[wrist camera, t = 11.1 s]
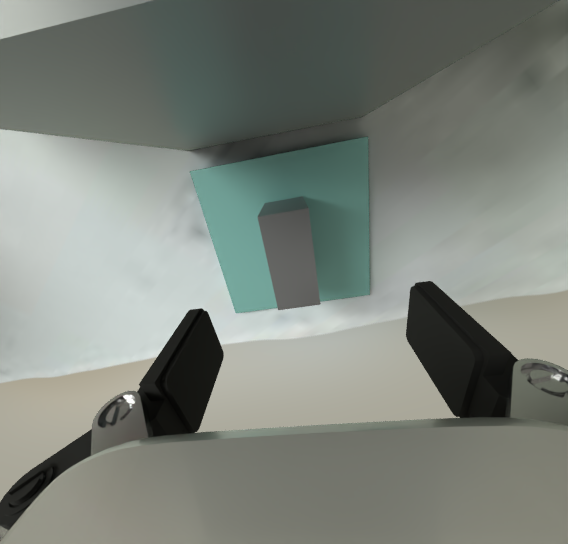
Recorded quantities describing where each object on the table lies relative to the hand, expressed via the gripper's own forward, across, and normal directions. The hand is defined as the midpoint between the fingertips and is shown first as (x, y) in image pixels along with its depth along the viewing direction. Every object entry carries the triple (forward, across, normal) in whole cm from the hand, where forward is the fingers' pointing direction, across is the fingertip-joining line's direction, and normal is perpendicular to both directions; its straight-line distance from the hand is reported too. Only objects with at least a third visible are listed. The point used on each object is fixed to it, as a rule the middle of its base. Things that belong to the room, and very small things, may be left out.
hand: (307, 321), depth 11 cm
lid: (+15, +1, 0) cm, 15 cm away
